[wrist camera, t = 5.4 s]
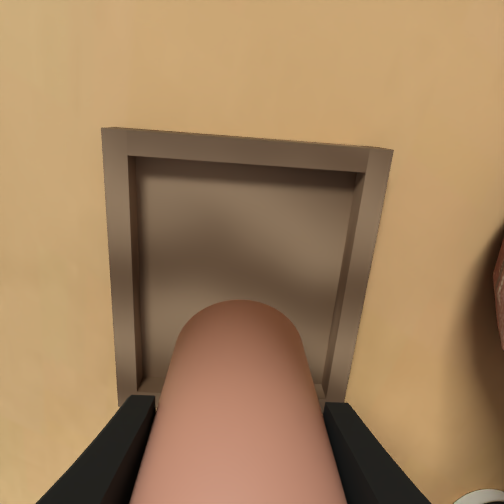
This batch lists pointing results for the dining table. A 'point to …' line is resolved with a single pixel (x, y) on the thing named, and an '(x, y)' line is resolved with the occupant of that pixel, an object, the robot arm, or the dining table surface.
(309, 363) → the tray
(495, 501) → the dixie cup
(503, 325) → the pottery
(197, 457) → the dowel
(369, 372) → the dining table surface
